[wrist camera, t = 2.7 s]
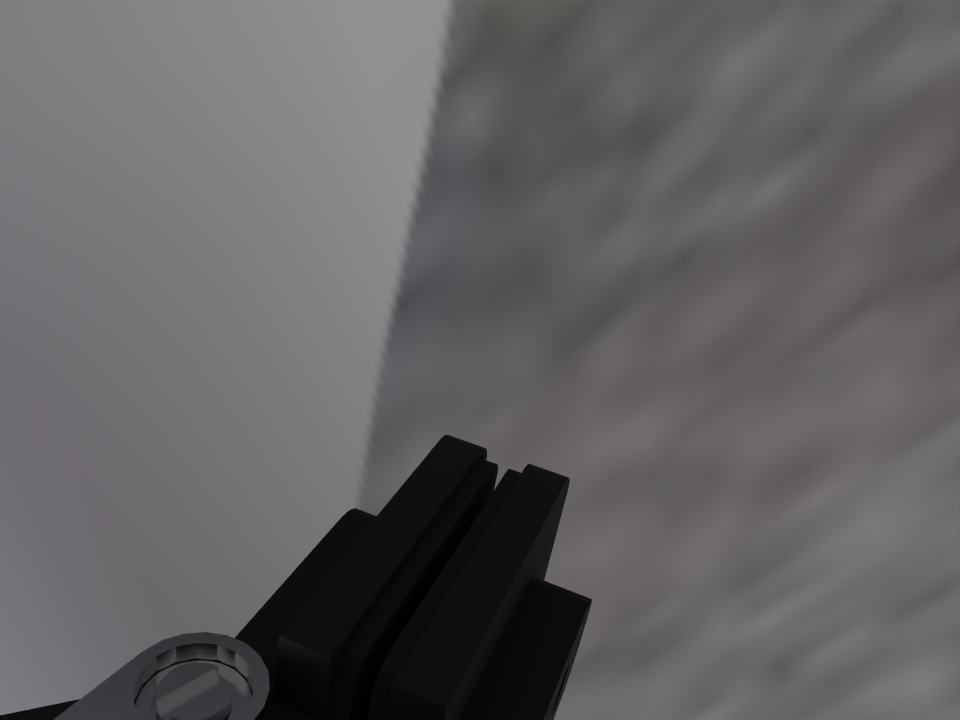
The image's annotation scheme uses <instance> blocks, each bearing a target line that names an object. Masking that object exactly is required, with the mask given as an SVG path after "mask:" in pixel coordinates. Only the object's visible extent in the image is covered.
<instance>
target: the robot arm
mask: <svg viewBox="0 0 960 720" xmlns="http://www.w3.org/2000/svg"><path fill="white" fill-rule="evenodd" d="M486 458H487V450H486V448H483V447H480V446H478V445H475V444H472V443H469V442H466V441H463V440H461V439H458V438H455V437H452V436H449V435H444V436H443V437H442V438H441V439H440V440H439V442H438V443H437V444H436V445H435V447H434V448H433V449H432V450H431V451H430V453H429V454H428V455H427V456H426V457H425V459H424V460H423V461H422V462H421V463H420V465H419V466H418V467H417V468H416V470H415V471H414V472H413V473H412V474H411V476H410V477H409V478H408V479H407V480H406V482H405V483H404V484H403V485H402V486H401V488H400V489H399V490H398V491H397V493H396V494H395V495H394V496H393V497H392V499H391V500H390V501H389V502H388V503H387V505H386V506H385V507H384V508H383V509H382V511H381V512H380V513H379V514H378V516H374V515H372V514H369V513H367V512H364V511H361V510H359V509H356V508H355V509H351V510H349V511H348V512H347V513H346V514H345V515H344V516H342V517H341V519H340V520H339V521H338V522H337V523H336V524H335V525H334V527H333V528H332V529H331V530H330V531H329V532H328V533H327V534H326V536H325V537H324V538H323V539H322V540H321V541H320V542H319V543H318V545H317V546H316V547H315V548H314V549H313V550H312V551H311V552H310V554H309V555H308V556H307V557H306V558H305V559H304V560H303V562H302V563H301V564H300V565H299V566H298V567H297V568H296V569H295V571H294V572H293V573H292V574H291V575H290V576H289V577H288V578H287V580H286V581H285V582H284V583H283V584H282V585H281V586H280V587H279V589H278V590H277V591H276V592H275V593H274V594H273V595H272V597H271V598H270V599H269V600H268V601H267V602H266V603H265V604H264V606H263V607H262V608H261V609H260V610H259V611H258V612H257V613H256V615H255V616H254V617H253V618H252V619H251V620H250V621H249V622H248V624H247V625H246V626H245V627H244V628H243V629H242V630H241V631H240V633H239V634H238V635H237V636H236V637H235V638H233V637H230V636H228V635H223V634H217V633H210V632H197V633H185V634H180V635H177V636H174V637H171V638H167V639H164V640H161V641H159V642H157V643H156V644H154V645H152V646H151V647H149V648H147V649H146V650H144V651H142V652H141V653H139V654H138V655H137V656H136V657H135V658H133V659H132V660H130V661H129V662H128V663H126V664H125V665H124V666H123V667H121V668H120V669H119V670H117V671H116V672H115V673H114V674H112V675H111V676H110V677H109V678H107V679H106V680H104V681H103V682H102V683H100V684H99V685H98V686H97V687H95V688H94V689H93V690H91V691H90V692H89V693H88V694H86V695H85V696H84V697H82V698H81V699H79V700H74V701H69V702H64V703H59V704H54V705H50V706H44V707H39V708H35V709H30V710H25V711H20V712H15V713H11V714H6V715H0V720H553V719H554V716H555V714H556V711H557V708H558V706H559V703H560V700H561V697H562V695H563V692H564V689H565V686H566V683H567V680H568V677H569V675H570V672H571V669H572V666H573V663H574V660H575V656H576V653H577V650H578V647H579V644H580V640H581V637H582V634H583V631H584V627H585V624H586V621H587V617H588V614H589V610H590V607H591V602H592V599H590V598H587V597H585V596H582V595H579V594H577V593H574V592H572V591H569V590H566V589H564V588H561V587H559V586H556V585H553V584H551V583H548V582H546V581H544V578H545V575H546V571H547V567H548V563H549V559H550V556H551V552H552V548H553V544H554V541H555V537H556V533H557V529H558V525H559V522H560V518H561V514H562V510H563V506H564V503H565V499H566V495H567V491H568V487H569V481H570V480H569V478H568V477H565V476H562V475H559V474H557V473H554V472H551V471H548V470H545V469H543V468H540V467H537V466H534V465H531V464H528V465H527V466H526V467H525V468H524V470H523V472H522V473H520V472H517V471H514V470H511V469H508V470H507V472H506V473H505V475H504V476H503V478H502V479H501V481H500V482H499V484H498V485H497V487H496V488H495V490H494V487H495V482H496V478H497V472H498V465H497V464H495V463H492V462H489V461H486Z"/></svg>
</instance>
